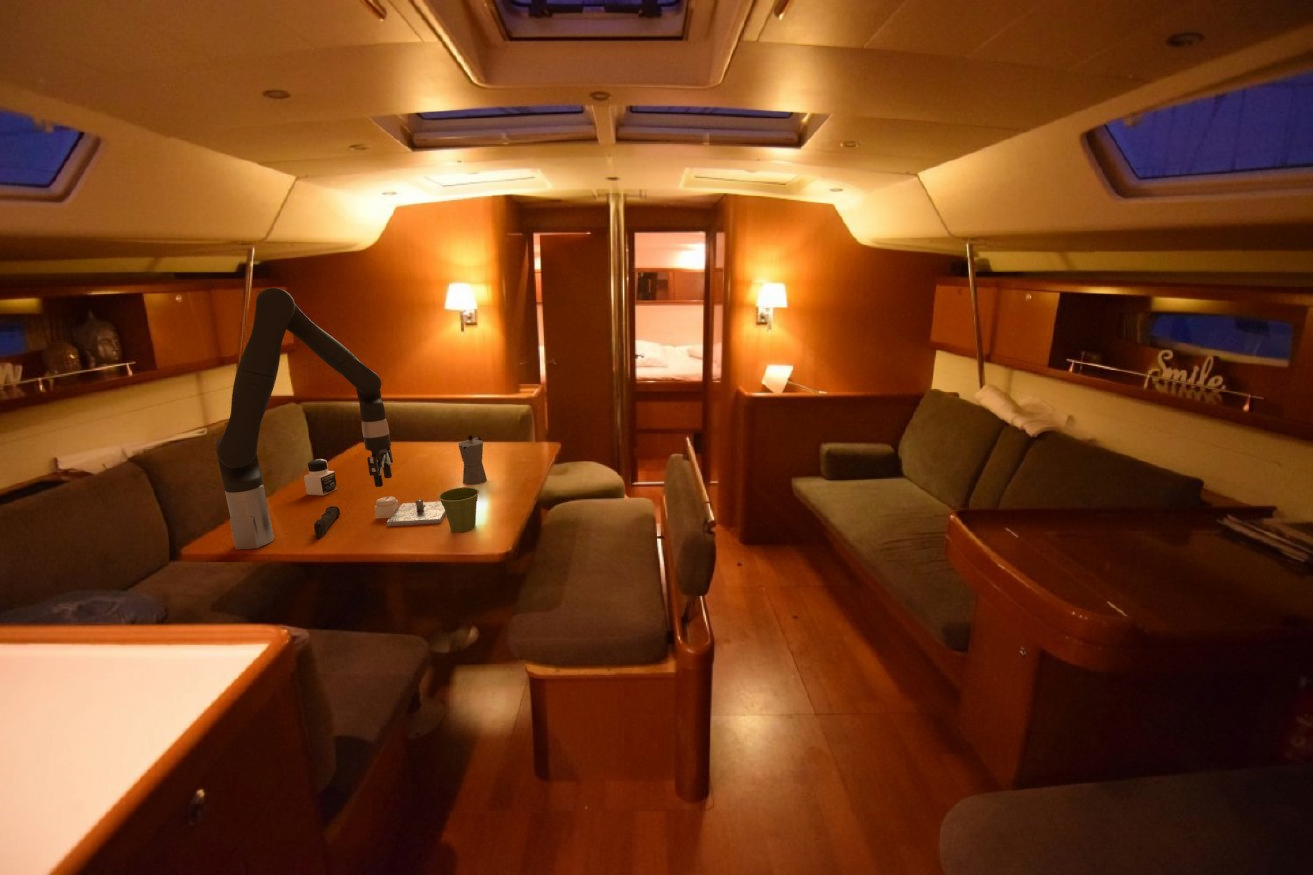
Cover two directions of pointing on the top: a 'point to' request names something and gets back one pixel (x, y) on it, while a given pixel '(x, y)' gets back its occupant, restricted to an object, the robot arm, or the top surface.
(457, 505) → the plant pot
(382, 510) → the knob
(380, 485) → the robot arm
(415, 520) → the block
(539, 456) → the top surface
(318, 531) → the hand tool
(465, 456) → the coffeepot
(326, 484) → the medicine bottle
